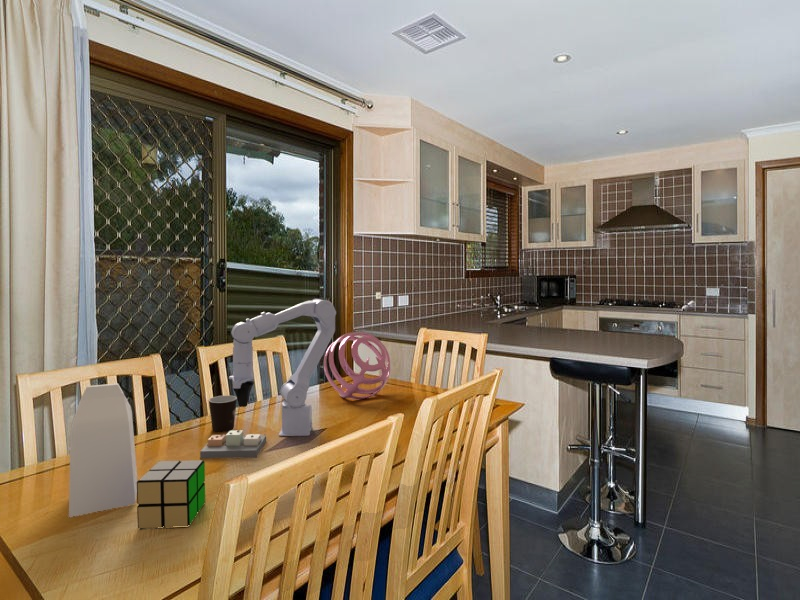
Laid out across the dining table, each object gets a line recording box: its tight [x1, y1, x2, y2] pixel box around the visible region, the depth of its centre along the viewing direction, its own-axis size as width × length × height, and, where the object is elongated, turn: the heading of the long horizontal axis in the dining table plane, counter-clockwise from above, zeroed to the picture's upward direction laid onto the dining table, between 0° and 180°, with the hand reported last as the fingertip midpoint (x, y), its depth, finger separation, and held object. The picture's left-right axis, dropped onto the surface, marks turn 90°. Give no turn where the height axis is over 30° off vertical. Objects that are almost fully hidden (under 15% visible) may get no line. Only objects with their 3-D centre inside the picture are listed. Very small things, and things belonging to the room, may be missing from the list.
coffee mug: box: [208, 395, 238, 433], centre depth 151 cm, size 12×9×10 cm
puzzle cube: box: [136, 459, 206, 529], centre depth 96 cm, size 10×10×10 cm
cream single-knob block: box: [244, 433, 262, 446], centre depth 133 cm, size 4×4×4 cm
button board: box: [199, 434, 267, 459], centre depth 133 cm, size 15×12×2 cm
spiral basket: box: [323, 331, 391, 400], centre depth 191 cm, size 28×28×27 cm
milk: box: [68, 382, 138, 518], centre depth 102 cm, size 12×12×26 cm
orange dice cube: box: [207, 434, 226, 446], centre depth 132 cm, size 4×4×4 cm
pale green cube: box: [225, 429, 244, 446], centre depth 132 cm, size 4×4×4 cm
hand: (243, 406), depth 140 cm, fingers closed
